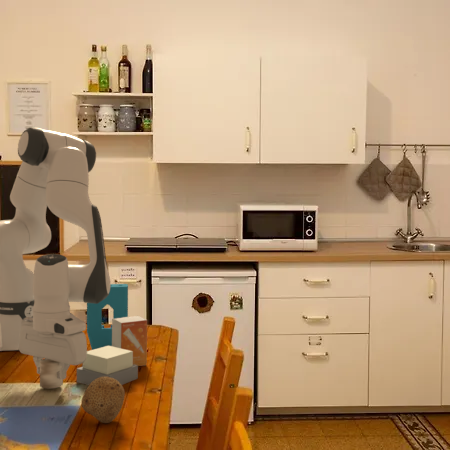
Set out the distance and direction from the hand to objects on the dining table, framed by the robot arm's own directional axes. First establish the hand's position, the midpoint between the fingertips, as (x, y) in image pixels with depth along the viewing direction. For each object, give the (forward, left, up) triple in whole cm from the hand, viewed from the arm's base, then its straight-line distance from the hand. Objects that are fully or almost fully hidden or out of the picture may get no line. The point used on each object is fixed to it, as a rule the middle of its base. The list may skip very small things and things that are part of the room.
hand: (51, 376), depth 157 cm
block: (-11, +33, -3) cm, 35 cm away
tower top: (+8, +12, 0) cm, 14 cm away
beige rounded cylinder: (0, 0, -2) cm, 2 cm away
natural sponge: (+25, -10, -3) cm, 27 cm away
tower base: (+7, +12, -4) cm, 15 cm away
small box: (+3, +26, -3) cm, 27 cm away
